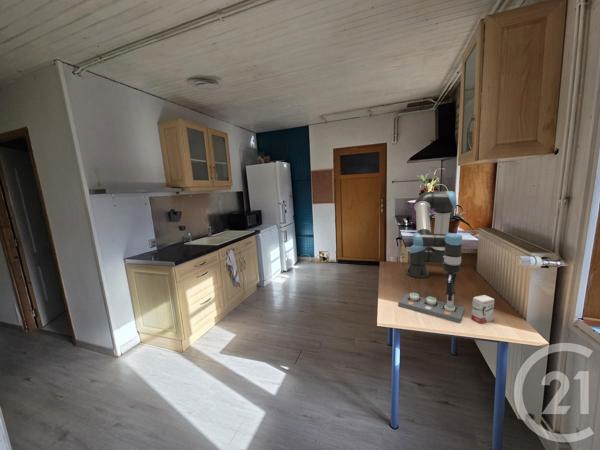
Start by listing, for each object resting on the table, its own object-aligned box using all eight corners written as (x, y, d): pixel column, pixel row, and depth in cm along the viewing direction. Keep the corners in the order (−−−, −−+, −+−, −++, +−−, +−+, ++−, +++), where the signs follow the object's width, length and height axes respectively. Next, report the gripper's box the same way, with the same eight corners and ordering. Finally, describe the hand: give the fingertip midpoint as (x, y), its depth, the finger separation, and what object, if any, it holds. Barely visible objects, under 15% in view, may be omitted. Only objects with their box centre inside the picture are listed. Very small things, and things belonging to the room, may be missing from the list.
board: (406, 297, 150) (406, 293, 149) (464, 311, 130) (464, 307, 130) (398, 306, 139) (398, 301, 139) (460, 323, 120) (460, 318, 120)
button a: (411, 296, 145) (411, 291, 145) (419, 298, 142) (419, 293, 142) (408, 299, 142) (408, 294, 141) (417, 302, 139) (417, 296, 138)
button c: (445, 308, 134) (445, 302, 133) (455, 311, 131) (455, 305, 130) (443, 312, 130) (443, 306, 130) (453, 315, 127) (454, 308, 127)
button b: (427, 300, 139) (427, 295, 139) (436, 303, 136) (437, 297, 136) (425, 304, 136) (425, 298, 135) (434, 306, 133) (435, 300, 132)
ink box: (480, 324, 119) (482, 301, 117) (470, 319, 123) (472, 297, 122) (493, 320, 121) (495, 298, 119) (483, 315, 126) (485, 294, 124)
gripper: (446, 259, 134) (444, 299, 137) (441, 265, 124) (439, 308, 127) (462, 261, 129) (460, 302, 132) (458, 268, 119) (456, 312, 123)
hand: (449, 305), depth 130 cm, fingers closed
